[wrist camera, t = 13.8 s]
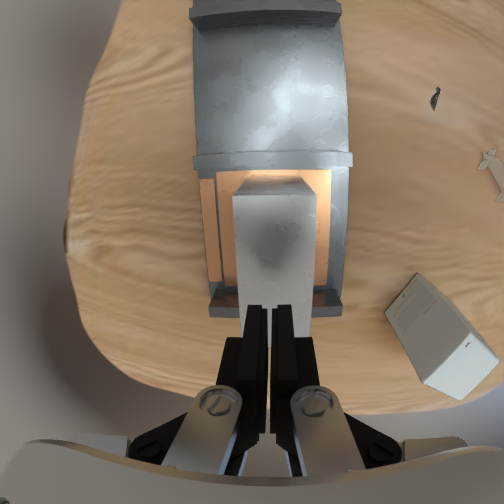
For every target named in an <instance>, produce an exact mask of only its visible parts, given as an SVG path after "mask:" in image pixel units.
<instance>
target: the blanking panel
mask: <svg viewBox="0 0 504 504" xmlns="http://www.w3.org/2000/svg"><path fill="white" fill-rule="evenodd" d="M232 201H233V219H234V236H235V252H236V268H237V283H238V298H239V312H240V326H241V337H243V331H244V325H245V319H246V312H247V306H248V305H262V308H267V311H268V347H271V328H272V308H277V305H280V304H291V305H292V315H293V326H294V337H309V335H310V324H311V312H312V298H313V283H314V266H315V245H316V213H317V195H316V194H315V192H314V191H313V190H312V189H311V188H310V186H309V185H308V184H307V183H306V182H305V180H304V179H303V178H302V177H301V176H300V175H262V176H248V177H247V179H246V180H245V181H244V182H243V183H242V185H241V186H240V187H239V188H238V190H237V191H236V192H235V193H234V195H233V196H232Z"/></svg>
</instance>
